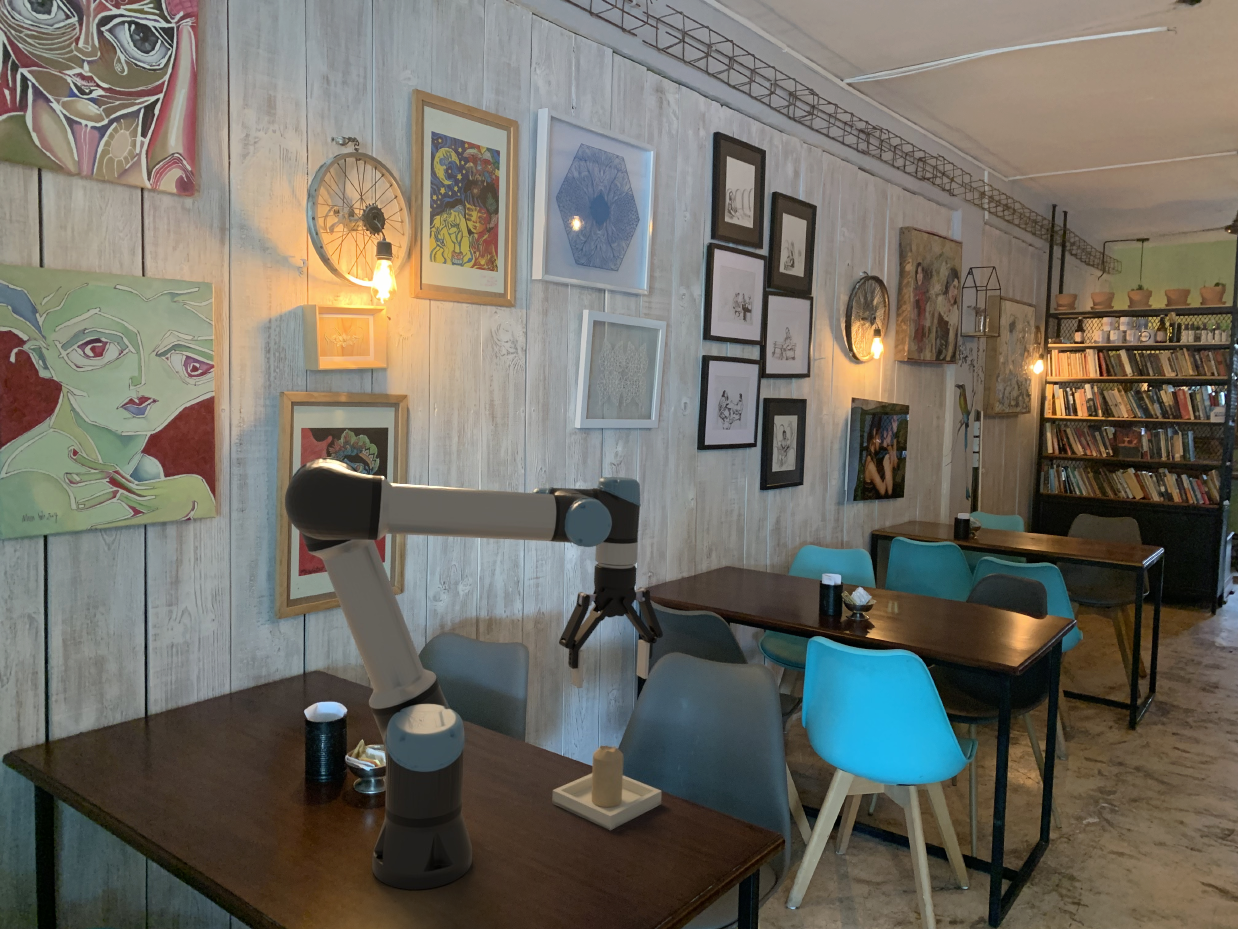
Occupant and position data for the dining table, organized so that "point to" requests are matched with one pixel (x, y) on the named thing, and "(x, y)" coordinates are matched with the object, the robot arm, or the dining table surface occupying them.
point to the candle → (607, 776)
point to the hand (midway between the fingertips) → (610, 681)
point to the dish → (632, 805)
